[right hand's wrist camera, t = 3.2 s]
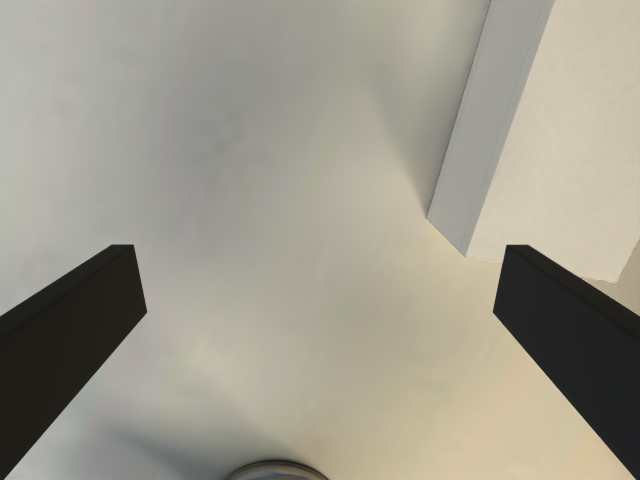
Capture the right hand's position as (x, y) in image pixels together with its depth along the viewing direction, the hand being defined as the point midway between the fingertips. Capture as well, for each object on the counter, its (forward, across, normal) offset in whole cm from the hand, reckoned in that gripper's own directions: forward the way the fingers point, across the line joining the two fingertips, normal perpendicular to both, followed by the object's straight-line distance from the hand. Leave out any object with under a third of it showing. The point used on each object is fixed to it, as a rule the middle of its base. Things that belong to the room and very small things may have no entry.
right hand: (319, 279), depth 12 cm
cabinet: (+18, -16, -4) cm, 24 cm away
